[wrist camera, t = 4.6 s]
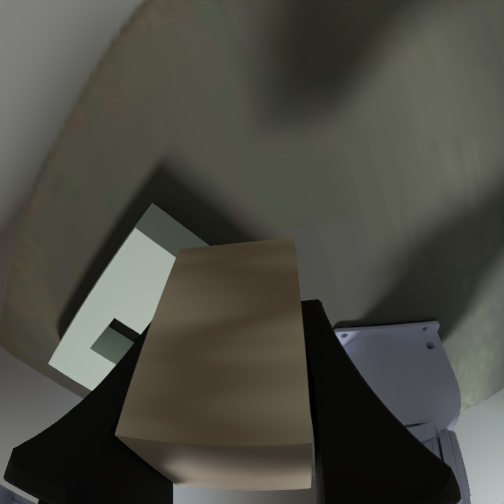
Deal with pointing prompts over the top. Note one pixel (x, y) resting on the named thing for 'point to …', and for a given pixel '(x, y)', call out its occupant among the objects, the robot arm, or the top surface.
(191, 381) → the peg
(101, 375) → the socket block
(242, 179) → the top surface
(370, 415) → the robot arm
